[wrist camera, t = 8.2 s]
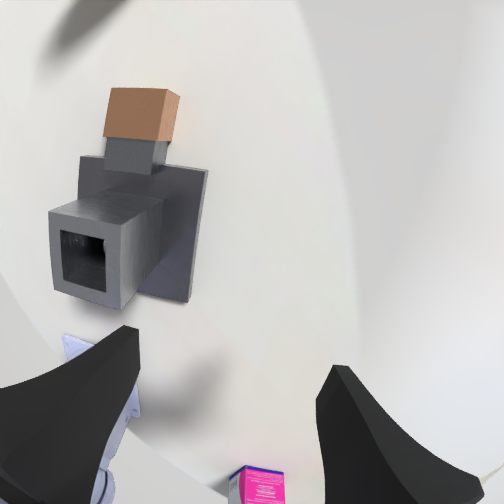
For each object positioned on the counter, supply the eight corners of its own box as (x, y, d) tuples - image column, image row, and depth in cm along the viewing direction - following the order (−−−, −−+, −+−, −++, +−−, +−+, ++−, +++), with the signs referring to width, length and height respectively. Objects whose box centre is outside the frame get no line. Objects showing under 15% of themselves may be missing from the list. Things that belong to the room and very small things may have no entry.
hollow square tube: (158, 264, 19) (121, 310, 13) (102, 251, 19) (54, 289, 13) (164, 199, 17) (121, 225, 12) (104, 190, 17) (48, 211, 12)
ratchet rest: (190, 296, 21) (178, 322, 17) (85, 270, 20) (61, 290, 17) (221, 100, 16) (211, 90, 13) (97, 93, 16) (69, 87, 12)
